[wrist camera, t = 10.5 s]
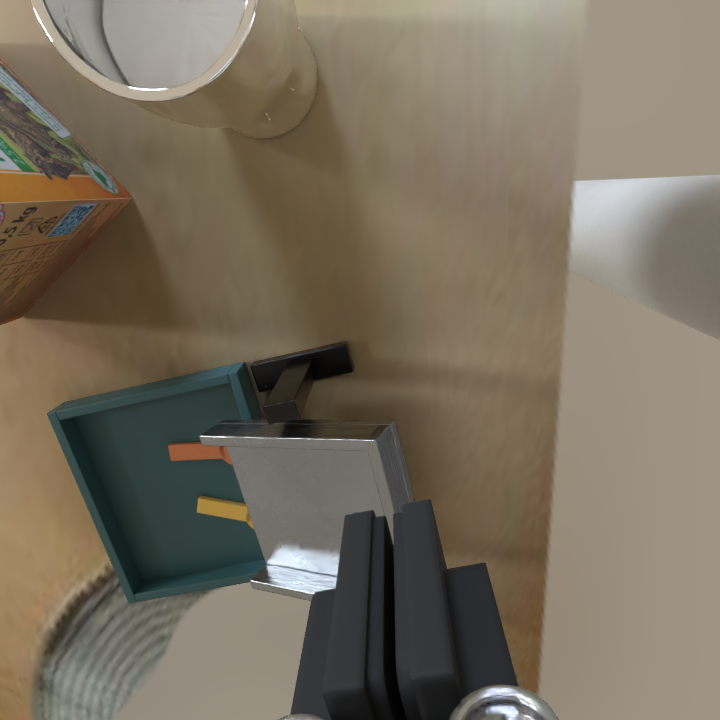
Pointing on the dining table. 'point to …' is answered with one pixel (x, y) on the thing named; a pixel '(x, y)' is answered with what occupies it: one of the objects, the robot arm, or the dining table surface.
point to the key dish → (311, 490)
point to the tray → (162, 481)
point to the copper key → (197, 452)
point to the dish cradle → (298, 377)
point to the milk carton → (44, 197)
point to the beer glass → (192, 58)
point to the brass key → (224, 509)
